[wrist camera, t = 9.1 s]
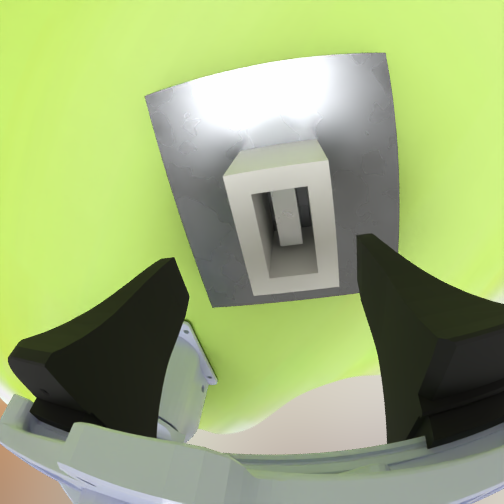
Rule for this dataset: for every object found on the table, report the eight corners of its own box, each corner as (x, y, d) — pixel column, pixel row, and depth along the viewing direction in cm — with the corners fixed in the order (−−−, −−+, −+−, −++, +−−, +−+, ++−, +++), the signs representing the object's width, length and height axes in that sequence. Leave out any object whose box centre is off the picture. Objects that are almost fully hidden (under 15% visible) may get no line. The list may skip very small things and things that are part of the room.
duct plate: (391, 279, 21) (406, 315, 18) (215, 299, 24) (203, 335, 20) (380, 54, 13) (404, 47, 10) (151, 95, 16) (119, 100, 13)
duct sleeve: (240, 150, 16) (222, 176, 12) (316, 139, 16) (328, 160, 11) (261, 246, 20) (253, 295, 15) (328, 238, 19) (339, 286, 15)
